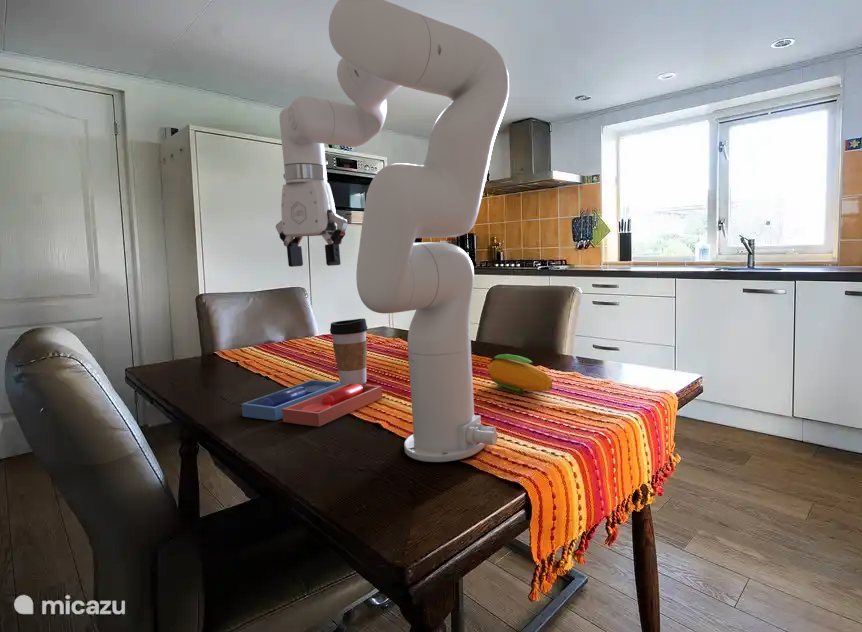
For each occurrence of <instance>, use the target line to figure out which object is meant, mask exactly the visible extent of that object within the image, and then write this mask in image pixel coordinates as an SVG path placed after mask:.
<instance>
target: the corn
mask: <svg viewBox="0 0 862 632" xmlns="http://www.w3.org/2000/svg"><path fill="white" fill-rule="evenodd" d="M487 371H488V377H489V378H490V380H491V381H492V382H493V383H495V384H497V385H498V386H500V387H502V388H505V389H508V390H511V391H515V392H518V393H523V394H525V392H524V390H525V391H531V392H532V391H533V392H534V391H538V392H543V391H544V392H546V391H550V390H552V389H553V379H552V377H551V376H550V375H548V374H547V373H546V372H544V371H542V370H541V369H539V368H538V367H537V366H534V364H533V361H532V360H531V359H529V358H528V357H524V356H521V355H517V354H516V355H515V354H509V353H504V354H503V353H502V354H497V355H495V356H494V357H493V358H491V359H490V360H489V365H488V367H487ZM522 390H523V391H522Z"/></svg>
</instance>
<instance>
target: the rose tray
mask: <svg viewBox="0 0 862 632" xmlns="http://www.w3.org/2000/svg"><path fill="white" fill-rule="evenodd" d="M351 385H353V384H352V383H348V384H346V385H343V386H341V387H338V388H335V389H333V390H330V391H328V392H325V393H322V394H320V395H317V396H315V397H312V398H309V399H307V400H304V401H302V402H299V403H296V404H294V405H291V406H289V407H286V408H283V409H282V414H283V418H282V422H283V423H289V424H297V425H303V426H312V427H322V426H324V425H326V424H329V423H331V422H333V421H335V420H337V419H340V418H341V417H343V416H346V415H348V414H350V413H352V412H354V411H357V410H358V409H361V408H363V407H365V406H367V405H370V404H372V403H374V402H376V401H379V400H380V399H382V398H383V386H382V385H374V384H360V385H361V386H362V387H363V393H362V394H359V395H357V396H355V397H352V398H350V399H348V400H345V401H343V402H341V403H338V404H336V405H334V406H331V407H329V408H326V409H324V410H322V411H319V412H312V411H304V410H301V409H302V408H303V407H305V406H307V405H311V404H317V403H321V402H322V399H323V397H324V396H326V395H328V394H331V393H333V392H336V391H338V390H341V389H343V388H346V387H348V386H351Z"/></svg>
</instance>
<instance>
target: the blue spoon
mask: <svg viewBox="0 0 862 632" xmlns="http://www.w3.org/2000/svg"><path fill="white" fill-rule="evenodd" d="M324 388H326V387H325V386H322V385H315V386H308V387H302V386H299V387H296V388H293V389H290V390H288V391H285V392H282V393H279V394H276V395H273V396H270V397H267V398H265V399H264V400H262V402H261V405H263V406H271V407H276V406H278V405H281V404H284V403H286V402H289V401H292V400H294V399H297V398H300V397H302V396H305V395H308V394H310V393H313V392H316V391H318V390H321V389H324Z"/></svg>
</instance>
